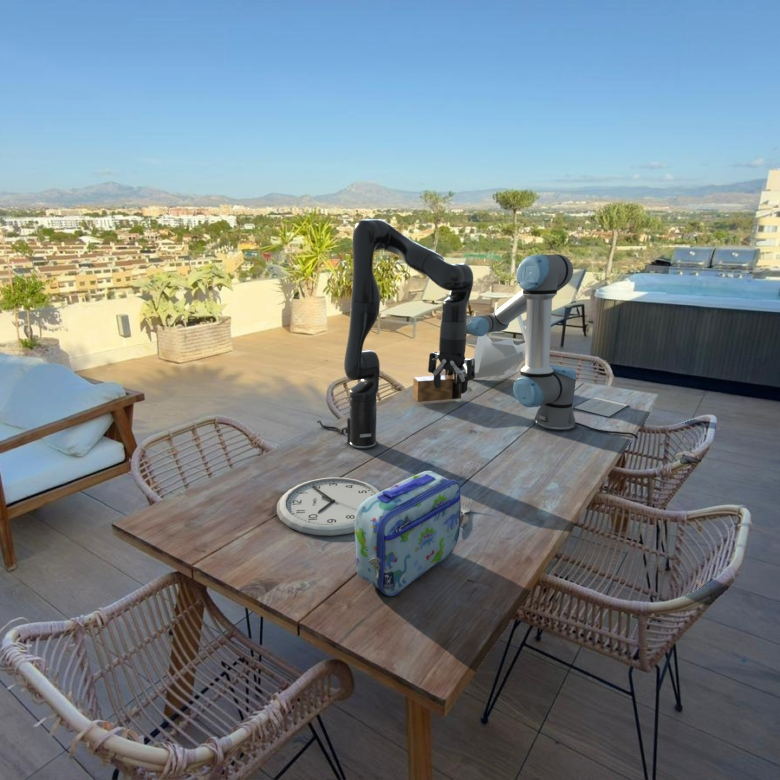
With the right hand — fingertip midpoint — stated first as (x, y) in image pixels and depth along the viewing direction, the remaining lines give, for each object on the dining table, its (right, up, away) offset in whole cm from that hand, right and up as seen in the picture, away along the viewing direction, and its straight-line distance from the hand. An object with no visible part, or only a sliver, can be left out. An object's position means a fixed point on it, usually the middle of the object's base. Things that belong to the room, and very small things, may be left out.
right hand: (452, 395), depth 231 cm
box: (-7, -1, -2) cm, 7 cm away
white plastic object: (+27, +5, +23) cm, 36 cm away
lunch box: (-23, -38, -114) cm, 123 cm away
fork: (-9, -31, -94) cm, 99 cm away
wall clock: (-43, -29, -88) cm, 102 cm away
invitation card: (+64, -5, -5) cm, 64 cm away
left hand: (-10, +2, -77) cm, 78 cm away
